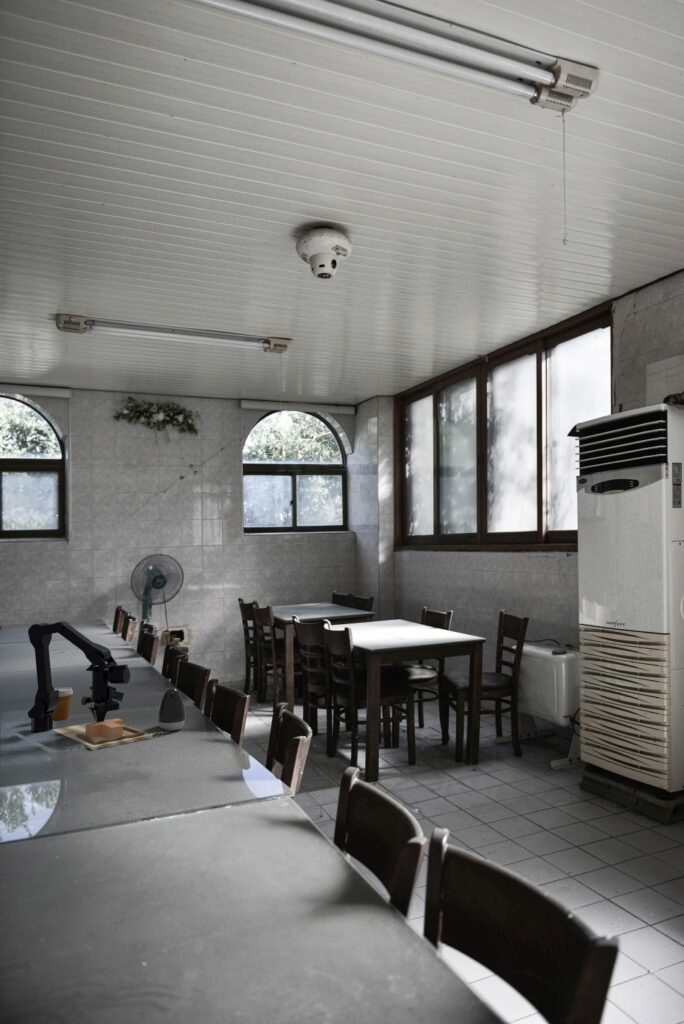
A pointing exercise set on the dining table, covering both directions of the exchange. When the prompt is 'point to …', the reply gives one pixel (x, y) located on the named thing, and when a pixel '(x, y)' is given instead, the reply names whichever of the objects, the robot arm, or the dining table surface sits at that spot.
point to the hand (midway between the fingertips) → (100, 727)
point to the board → (101, 741)
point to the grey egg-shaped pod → (171, 710)
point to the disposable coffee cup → (63, 704)
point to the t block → (105, 728)
